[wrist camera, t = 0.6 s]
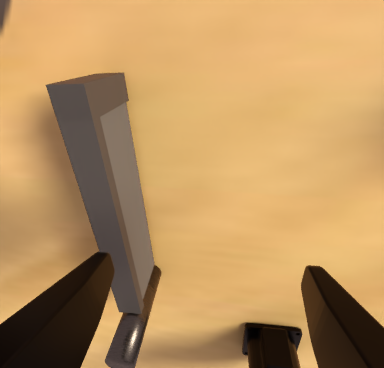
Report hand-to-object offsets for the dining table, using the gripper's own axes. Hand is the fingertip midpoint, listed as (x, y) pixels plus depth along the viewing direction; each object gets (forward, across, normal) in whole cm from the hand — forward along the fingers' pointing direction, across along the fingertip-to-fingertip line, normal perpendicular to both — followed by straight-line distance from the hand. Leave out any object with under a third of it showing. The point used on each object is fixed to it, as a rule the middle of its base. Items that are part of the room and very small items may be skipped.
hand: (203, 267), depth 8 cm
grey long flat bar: (+11, +7, +4) cm, 14 cm away
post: (+12, +7, +15) cm, 20 cm away
